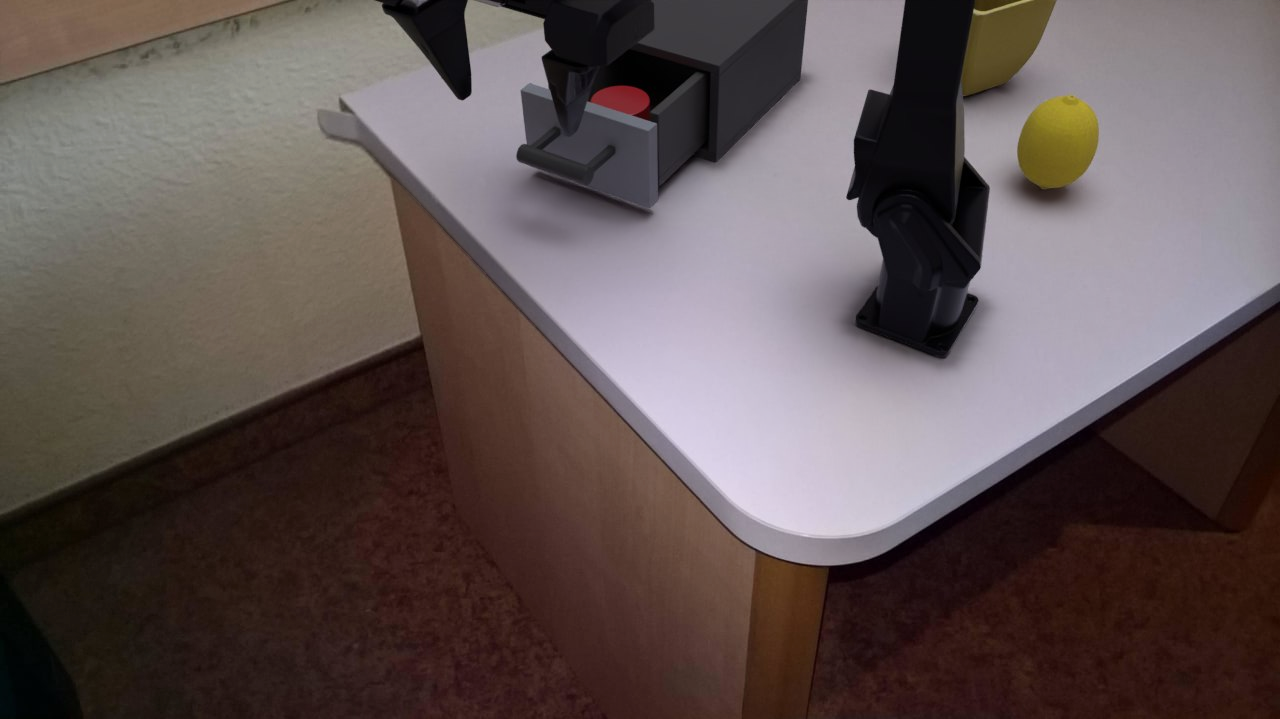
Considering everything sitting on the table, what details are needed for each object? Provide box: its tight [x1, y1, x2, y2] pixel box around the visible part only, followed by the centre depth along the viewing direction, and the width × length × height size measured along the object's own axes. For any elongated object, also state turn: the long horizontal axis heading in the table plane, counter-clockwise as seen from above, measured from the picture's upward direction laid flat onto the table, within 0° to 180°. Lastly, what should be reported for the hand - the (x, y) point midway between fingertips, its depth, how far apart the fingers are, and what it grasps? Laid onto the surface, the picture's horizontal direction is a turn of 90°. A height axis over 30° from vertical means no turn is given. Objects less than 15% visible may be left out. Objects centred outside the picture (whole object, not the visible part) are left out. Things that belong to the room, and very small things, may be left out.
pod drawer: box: [516, 49, 711, 210], centre depth 80 cm, size 19×11×7 cm, turn 148°
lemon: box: [1016, 94, 1100, 190], centre depth 77 cm, size 6×6×8 cm
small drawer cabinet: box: [630, 0, 809, 163], centre depth 88 cm, size 16×13×9 cm
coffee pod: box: [590, 86, 650, 121], centre depth 80 cm, size 5×5×4 cm
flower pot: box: [961, 0, 1058, 97], centre depth 89 cm, size 9×9×9 cm
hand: (516, 115), depth 68 cm, fingers open, 8 cm apart
